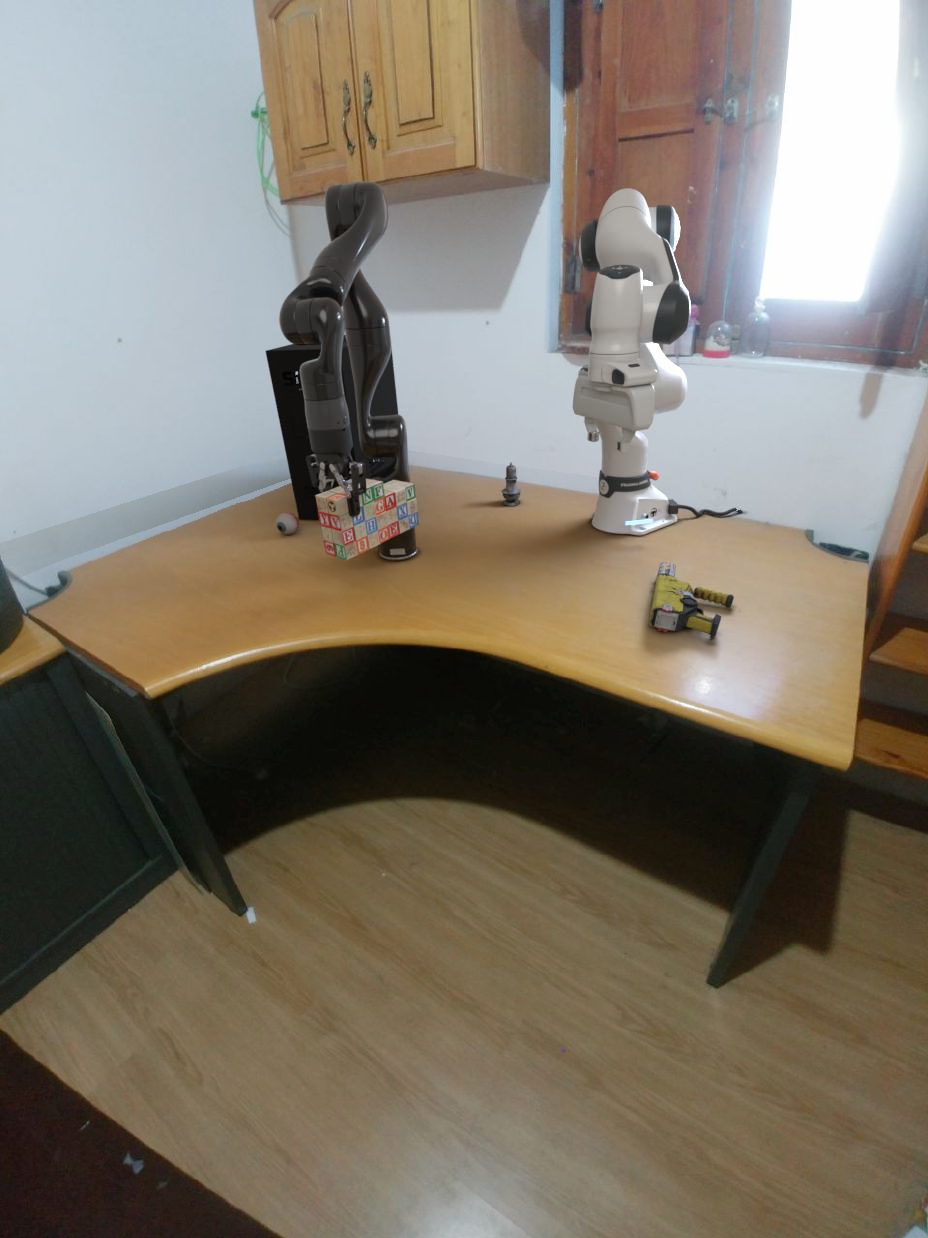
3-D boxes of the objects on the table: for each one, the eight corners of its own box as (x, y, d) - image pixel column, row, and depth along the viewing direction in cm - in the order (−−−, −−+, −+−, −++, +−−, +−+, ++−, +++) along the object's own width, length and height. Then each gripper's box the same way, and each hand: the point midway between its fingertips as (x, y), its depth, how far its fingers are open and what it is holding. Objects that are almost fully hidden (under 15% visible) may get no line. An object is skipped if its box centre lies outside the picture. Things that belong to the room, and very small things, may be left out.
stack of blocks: (398, 520, 134) (392, 465, 128) (419, 525, 131) (414, 469, 124) (325, 554, 120) (314, 494, 114) (346, 560, 116) (336, 499, 110)
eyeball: (273, 537, 164) (268, 516, 161) (287, 528, 169) (282, 508, 166) (291, 539, 161) (286, 518, 158) (305, 530, 166) (301, 510, 163)
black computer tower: (364, 521, 170) (339, 348, 148) (298, 518, 175) (265, 350, 152) (405, 480, 202) (390, 332, 180) (349, 479, 207) (327, 335, 184)
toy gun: (734, 572, 125) (660, 559, 129) (740, 625, 105) (652, 607, 109) (728, 592, 127) (655, 579, 131) (733, 648, 107) (647, 630, 111)
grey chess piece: (520, 506, 175) (520, 465, 169) (500, 505, 176) (499, 465, 170) (522, 499, 180) (522, 459, 174) (503, 499, 181) (502, 459, 175)
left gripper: (286, 424, 109) (303, 511, 118) (340, 431, 102) (354, 525, 110) (318, 415, 114) (332, 500, 123) (371, 422, 107) (383, 513, 115)
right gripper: (566, 365, 116) (563, 437, 123) (634, 377, 100) (627, 460, 107) (593, 361, 118) (589, 433, 125) (664, 373, 102) (655, 454, 109)
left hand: (342, 512), depth 116 cm, fingers closed on stack of blocks, 6 cm apart
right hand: (607, 445), depth 116 cm, fingers open, 8 cm apart
